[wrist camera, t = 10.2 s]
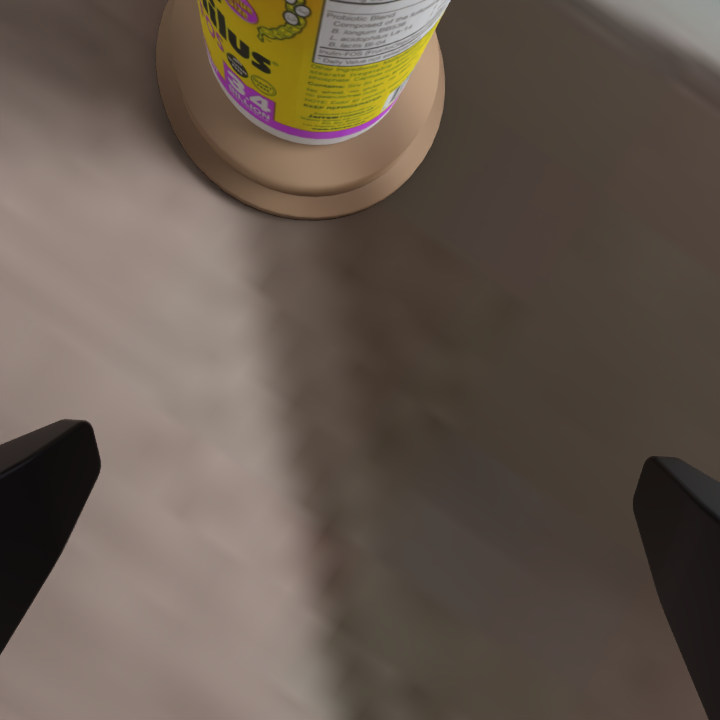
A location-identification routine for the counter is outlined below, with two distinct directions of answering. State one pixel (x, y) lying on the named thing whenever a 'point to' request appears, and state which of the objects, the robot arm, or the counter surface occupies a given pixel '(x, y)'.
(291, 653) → the counter surface
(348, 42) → the supplement bottle
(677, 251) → the counter surface
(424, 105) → the beige saucer
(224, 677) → the counter surface
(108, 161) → the counter surface
